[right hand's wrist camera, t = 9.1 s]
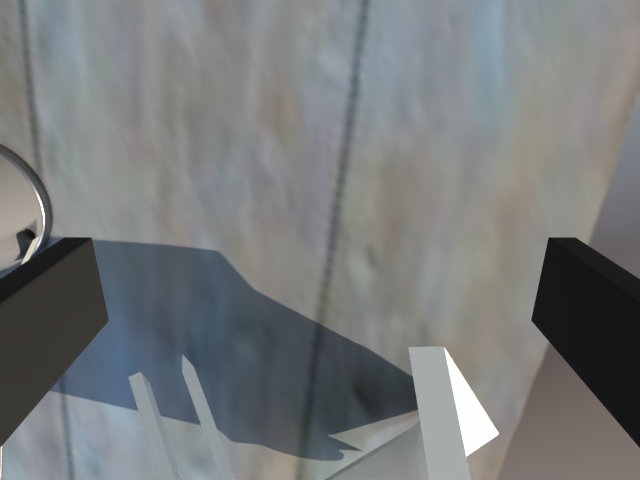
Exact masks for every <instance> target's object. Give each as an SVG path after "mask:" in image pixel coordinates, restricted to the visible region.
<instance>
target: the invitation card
mask: <svg viewBox="0 0 640 480" xmlns="http://www.w3.org/2000/svg"><path fill="white" fill-rule="evenodd" d="M1 464H2V446H1V447H0V480H1Z"/></svg>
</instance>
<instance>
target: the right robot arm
mask: <svg viewBox="0 0 640 480" xmlns="http://www.w3.org/2000/svg"><path fill="white" fill-rule="evenodd" d="M52 220H53V217H52V207H51V203H50V199H49V196H48V193H47V191H46V189H45V187H44V185H43V183H42V182H41V180H40V178H39V177H38V176H37V174H36V173H35V172H34V170H33V169H32V168H31V167H30V166H29V165H28V164H27V163H26V162H25V161H24V160H23V159H22V158H21V157H19V156H18V155H17V154H16V153H14V152H13V151H11V150H10V149H8V148H7V147H5V146H3V145H1V144H0V271H4V270H8V269H12V268H14V267H17V266H19V265H20V264H21V266H20V267H18V268H17V269H15V270H14V271H12V272H11V273H9V274H8V275H6V276H4V277H3V278H1V279H0V447H1V446H2V445H3V444H4V443H5V442H6V440H7V439H8V438H9V437H10V436H11V434H12V433H13V432H14V431H15V430H16V429H17V427H18V426H19V425H20V424H21V423H22V422H23V420H24V419H25V418H26V417H27V416H28V415H29V413H30V412H31V411H32V410H33V409H34V407H35V406H36V405H37V404H38V403H39V402H40V400H41V399H42V398H43V397H44V396H45V395H46V393H47V392H48V391H49V390H50V389H51V388H52V386H53V385H54V384H55V383H56V382H57V380H58V379H59V378H60V377H61V376H62V375H63V373H64V372H65V371H66V370H67V369H68V368H69V366H70V365H71V364H72V363H73V362H74V361H75V359H76V358H77V357H78V356H79V355H80V353H81V352H82V351H83V350H84V349H85V348H86V346H87V345H88V344H89V343H90V342H91V341H92V339H93V338H94V337H95V336H96V335H97V334H98V332H99V331H100V330H101V329H102V328H103V326H104V325H105V324H106V323H107V322H108V321H109V320H108V315H107V310H106V305H105V301H104V296H103V291H102V286H101V281H100V277H99V272H98V267H97V262H96V258H95V253H94V248H93V243H92V239H91V238H63V239H62V240H60V241H59V242H57V243H55V244H54V245H52V246H51V247H49V248H48V249H46V250H45V251H43V252H42V253H40V254H38V255H37V256H35V257H34V258H32V259H31V260H29V259H30V258H31V257H33V256H34V255H36V254H37V253H38V252H39V251H40V250H41V249H42V248H43V247H44V245H45V244H46V242H47V240H48V238H49V236H50V232H51V228H52ZM28 260H29V261H28ZM26 261H28V262H26ZM25 262H26V263H25ZM23 263H25V264H23ZM22 264H23V265H22ZM531 321H532V322H533V323H534V324H535V325H536V327H537V328H538V329H539V330H540V331H541V332H542V334H543V335H544V336H545V337H546V338H547V339H548V341H549V342H550V343H551V344H552V345H553V346H554V348H555V349H556V350H557V351H558V352H559V353H560V355H561V356H562V357H563V358H564V359H565V361H566V362H567V363H568V364H569V365H570V366H571V368H572V369H573V370H574V371H575V372H576V373H577V375H578V376H579V377H580V378H581V379H582V380H583V382H584V383H585V384H586V385H587V386H588V388H589V389H590V390H591V391H592V392H593V393H594V395H595V396H596V397H597V398H598V399H599V400H600V402H601V403H602V404H603V405H604V406H605V407H606V409H607V410H608V411H609V412H610V413H611V415H612V416H613V417H614V418H615V419H616V420H617V422H618V423H619V424H620V425H621V426H622V427H623V429H624V430H625V431H626V432H627V433H628V434H629V436H630V437H631V438H632V439H633V440H634V441H635V443H636V444H637V445H638V446H639V447H640V279H639V278H637V277H635V276H634V275H632V274H631V273H629V272H628V271H626V270H625V269H623V268H622V267H620V266H619V265H617V264H615V263H614V262H612V261H611V260H609V259H608V258H606V257H605V256H603V255H602V254H600V253H598V252H597V251H595V250H594V249H592V248H591V247H589V246H588V245H586V244H585V243H583V242H581V241H580V240H578V239H577V238H549V239H548V243H547V248H546V253H545V258H544V262H543V267H542V272H541V277H540V281H539V286H538V291H537V296H536V301H535V305H534V310H533V315H532V320H531Z"/></svg>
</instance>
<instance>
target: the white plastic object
mask: <svg viewBox="0 0 640 480" xmlns="http://www.w3.org/2000/svg"><path fill="white" fill-rule="evenodd" d="M408 348H409V355H410V361H411V367H412V373H413V380H414V386H415V392H416V399H417V405H418V411H419V417H420V421H419V422H418V423H417V424H416V425H414V426H413V427H412V428H410V429H409V430H407V431H405V432H403V433H402V434H400V435H398V436H397V437H395V438H393V439H391V440H390V441H388V442H386V443H384V444H383V445H381V446H379V447H378V448H376V449H374V450H372V451H371V452H369V453H367V454H366V455H364V456H362V457H361V458H359V459H357V460H356V461H354V462H352V463H351V464H349V465H347V466H346V467H344V468H343V469H341V470H339V471H338V472H336V473H335V474H333V475H332V476H330V477H328V478H327V479H325V480H471V477H470V472H469V467H468V463H467V458H466V456H468V455H469V454H471V453H472V452H474V451H475V450H476V449H478V448H479V447H481V446H482V445H484V444H485V443H487V442H488V441H490V440H491V439H493V438H494V437H496V436H497V435H498V434H499V433H498V431H497V430H496V428H495V427H494V425H493V423H492V422H491V420H490V419H489V417H488V415H487V414H486V412H485V411H484V409H483V408H482V406H481V404H480V403H479V401H478V400H477V398H476V396H475V395H474V393H473V392H472V390H471V389H470V387H469V385H468V384H467V382H466V381H465V379H464V377H463V376H462V374H461V373H460V371H459V370H458V368H457V366H456V365H455V363H454V362H453V360H452V358H451V357H450V355H449V354H448V352H447V351H446V349H445V347H408ZM182 373H183V376H184V379H185V381H186V384H187V387H188V390H189V392H190V395H191V398H192V401H193V404H194V406H195V409H196V412H197V415H198V417H199V420H200V423H201V426H202V429H203V431H204V434H205V437H206V440H207V443H208V445H209V448H210V451H211V454H212V456H213V459H214V462H215V465H216V468H217V470H218V473H219V476H220V479H221V480H236V479H235V476H234V473H233V470H232V468H231V465H230V462H229V460H228V457H227V454H226V452H225V449H224V446H223V444H222V441H221V438H220V436H219V433H218V430H217V428H216V425H215V422H214V420H213V417H212V414H211V412H210V409H209V406H208V404H207V401H206V398H205V396H204V393H203V390H202V387H201V385H200V382H199V379H198V377H197V374H196V371H195V369H194V367H193V365H192V364H191V363H190V362H189V361H188V360H187V359H186V357H185V356H184V355H183V354H182ZM128 378H129V381H130V385H131V388H132V391H133V395H134V398H135V401H136V405H137V408H138V411H139V415H140V418H141V421H142V424H143V428H144V431H145V434H146V438H147V441H148V444H149V448H150V451H151V454H152V458H153V461H154V464H155V468H156V471H157V474H158V478H159V480H181V478H180V475H179V472H178V469H177V466H176V462H175V459H174V456H173V453H172V450H171V447H170V444H169V441H168V438H167V434H166V431H165V428H164V425H163V422H162V419H161V416H160V413H159V410H158V406H157V403H156V400H155V397H154V394H153V391H152V388H151V385H150V383H149V382H148V380H147V379H146V378H145V377H144V375H143V374H142V373H141V372H139V373H136V374H134V375H132V376H129V377H128Z"/></svg>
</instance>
